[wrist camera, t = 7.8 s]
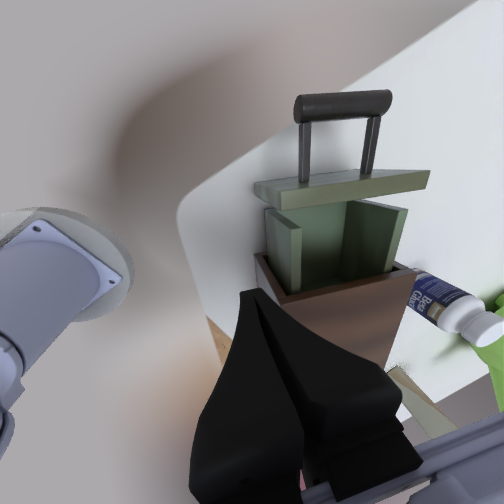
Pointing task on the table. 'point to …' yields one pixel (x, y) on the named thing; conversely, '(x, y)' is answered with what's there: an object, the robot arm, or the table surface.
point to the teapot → (495, 358)
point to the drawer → (335, 203)
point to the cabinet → (348, 308)
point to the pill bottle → (454, 310)
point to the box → (421, 406)
